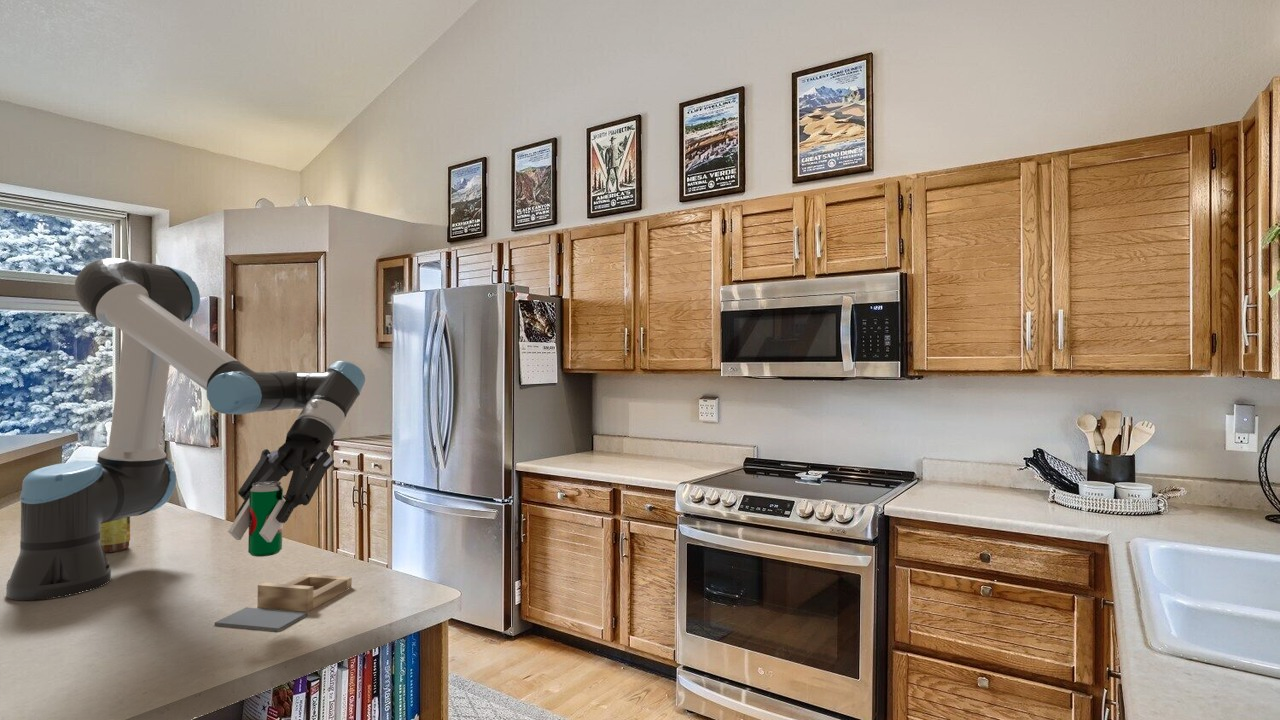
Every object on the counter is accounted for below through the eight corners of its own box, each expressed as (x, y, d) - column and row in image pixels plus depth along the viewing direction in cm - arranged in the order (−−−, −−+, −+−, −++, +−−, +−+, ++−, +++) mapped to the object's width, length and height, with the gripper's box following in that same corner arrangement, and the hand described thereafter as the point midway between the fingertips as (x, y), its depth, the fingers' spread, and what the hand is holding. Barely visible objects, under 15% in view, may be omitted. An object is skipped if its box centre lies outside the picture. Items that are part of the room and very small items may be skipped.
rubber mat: (214, 625, 110) (214, 622, 110) (246, 610, 117) (246, 607, 117) (278, 631, 108) (278, 628, 108) (307, 615, 115) (307, 612, 115)
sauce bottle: (134, 549, 153) (136, 463, 153) (101, 555, 148) (103, 467, 148) (122, 544, 156) (124, 461, 157) (90, 550, 151) (92, 464, 151)
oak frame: (257, 607, 118) (257, 585, 118) (305, 583, 131) (306, 563, 131) (307, 611, 117) (308, 589, 117) (351, 587, 129) (351, 567, 129)
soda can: (267, 558, 110) (268, 486, 110) (240, 556, 111) (242, 485, 111) (288, 550, 115) (290, 481, 115) (263, 548, 116) (264, 480, 116)
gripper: (263, 414, 124) (188, 521, 108) (350, 417, 122) (288, 527, 105) (282, 439, 130) (213, 545, 113) (366, 442, 127) (309, 551, 111)
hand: (249, 536), depth 109 cm, fingers closed on soda can, 5 cm apart
